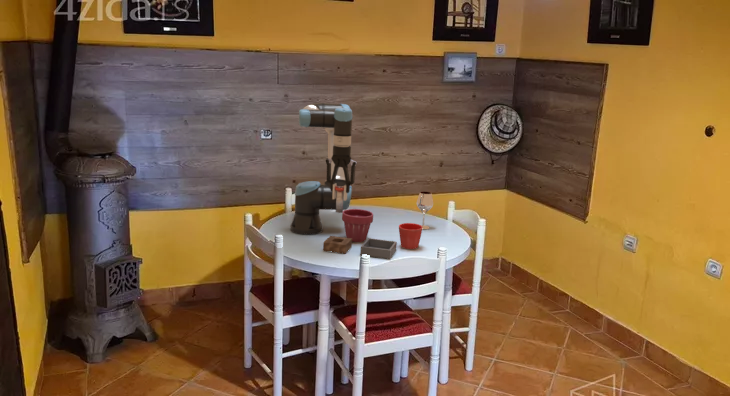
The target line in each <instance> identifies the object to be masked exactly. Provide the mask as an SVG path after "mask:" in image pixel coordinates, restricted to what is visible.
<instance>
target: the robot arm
mask: <svg viewBox="0 0 730 396" xmlns="http://www.w3.org/2000/svg"><path fill="white" fill-rule="evenodd" d="M353 118H354V117H353V110H352V109H351V107H350V105H348V104H345V103H324V102H316V103H310V104H308V105H306V106H304V107H303V108H301V109H299V111H298V125H299V127H304V128H324V130H325V132H326V133H327V134H328V135H327V158H326V159H325V164H326V179H325V181H324V184H321V182H320V181H319V180H317V181H315V180H310V181H308V180H307V181H302V182H299V183H297V184H296V186H295V192H294V196H295V197H294V215H293V218H292V221H291V223H290V231H291V232H292V233H295V234H297V235H316V234H320V233H322V232H323V224H322V220H321V216H320V210H322V211H323V210H324V211H325V210H329V211H330V210H331V211H333V210H334V211H336V192H337V191H336V190H335V187H336V186H344V192H343V211H344V210H348V209H349V208H350V204H351V198H352V192H353V191H352V189H353V186H352V185H353V184H355V181H356V180H355V179H356V167H357V164H358V161H357V160H353V159H352V157H351V151H352V150H351V148H352V147H351V145H352V126H353ZM349 164H350V166H351V167H350V168H351V169H350V172H349Z"/></svg>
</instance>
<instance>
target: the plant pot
mask: <svg viewBox="0 0 730 396" xmlns="http://www.w3.org/2000/svg"><path fill="white" fill-rule="evenodd" d="M341 220H342V221H343V224H344V229H345V238H352V243H362V242H363V243H364V242H365V241H366V240H367V239H368V234H369V232H370V227H371V224H372V223H373V221H374V213H373V212H372V211H370V210H367V209H358V208H350V209H349V208H348V209H346V210H343V212H342V214H341Z"/></svg>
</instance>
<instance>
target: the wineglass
mask: <svg viewBox="0 0 730 396" xmlns="http://www.w3.org/2000/svg"><path fill="white" fill-rule="evenodd" d="M416 206H417V208H418V209H419V211H420V212H421V213H422V224H420V225H421V226H422V227H423V228H422V230H430V226H428V225H425V218H426V217H425V216H426V213H428V212H429V211H430V210H431V209H432V208H433V206H434V200H433V194H432V192H431V191H420V192H419V194H418V197H417V200H416Z"/></svg>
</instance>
